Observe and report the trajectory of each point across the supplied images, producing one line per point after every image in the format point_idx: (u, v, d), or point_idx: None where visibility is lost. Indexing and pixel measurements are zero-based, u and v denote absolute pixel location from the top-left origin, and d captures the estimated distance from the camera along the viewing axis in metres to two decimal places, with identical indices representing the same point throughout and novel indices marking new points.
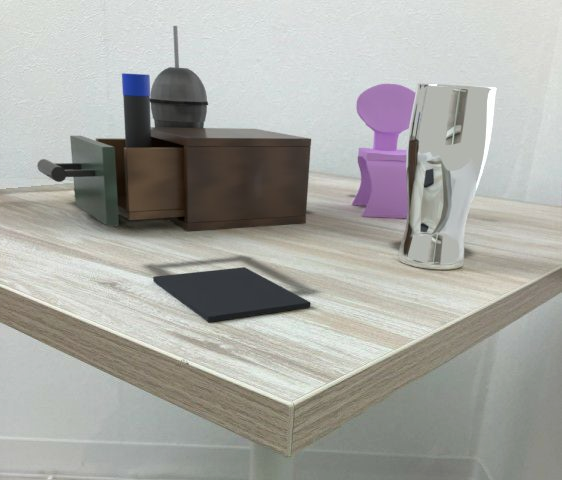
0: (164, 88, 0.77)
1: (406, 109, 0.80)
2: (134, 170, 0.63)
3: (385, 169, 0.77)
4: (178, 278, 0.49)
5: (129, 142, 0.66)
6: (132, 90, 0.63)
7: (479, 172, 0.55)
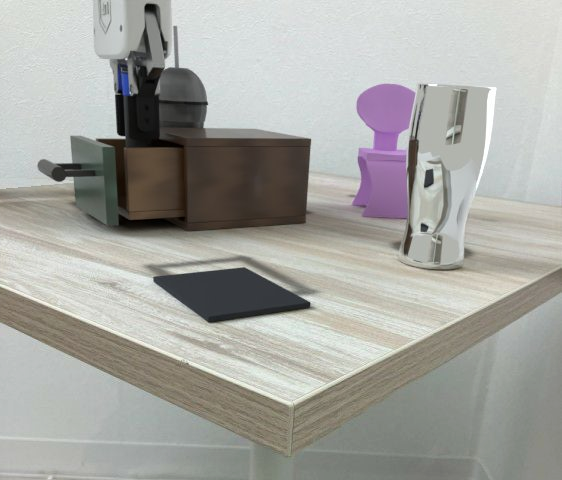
0: (164, 88, 0.77)
1: (406, 109, 0.80)
2: (134, 170, 0.63)
3: (385, 169, 0.77)
4: (178, 278, 0.49)
5: (129, 142, 0.66)
6: None
7: (479, 172, 0.55)
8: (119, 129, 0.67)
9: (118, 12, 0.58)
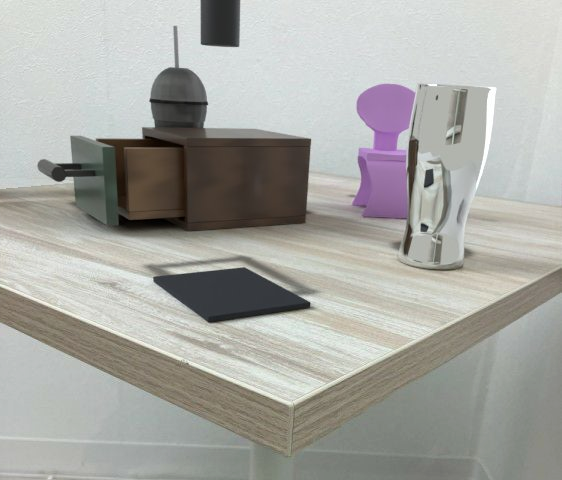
0: (164, 88, 0.77)
1: (406, 109, 0.80)
2: (134, 170, 0.63)
3: (385, 169, 0.77)
4: (178, 278, 0.49)
5: None
6: None
7: (479, 172, 0.55)
8: None
9: None
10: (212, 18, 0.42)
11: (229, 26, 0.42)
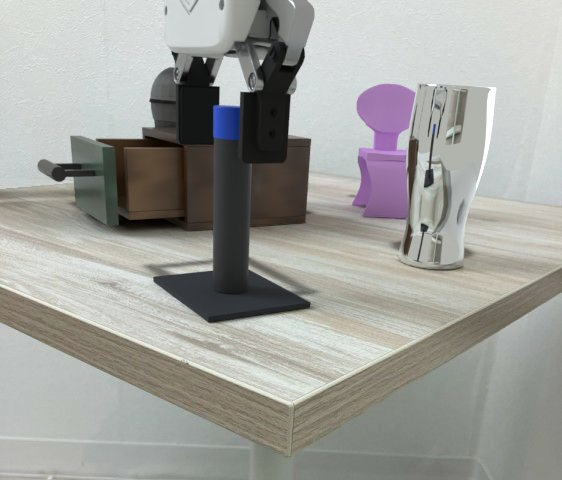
0: (164, 88, 0.77)
1: (406, 109, 0.80)
2: (134, 170, 0.63)
3: (385, 169, 0.77)
4: (178, 278, 0.49)
5: (220, 206, 0.44)
6: (230, 131, 0.42)
7: (479, 172, 0.55)
8: (180, 134, 0.47)
9: None
10: (223, 273, 0.46)
11: (239, 279, 0.46)
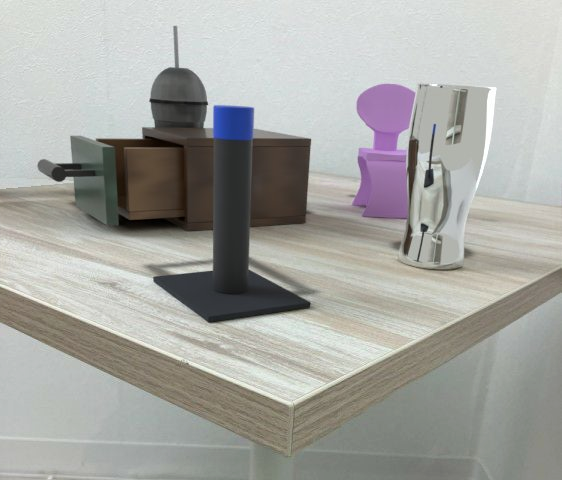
0: (164, 88, 0.77)
1: (406, 109, 0.80)
2: (134, 170, 0.63)
3: (385, 169, 0.77)
4: (178, 278, 0.49)
5: (220, 206, 0.44)
6: (230, 131, 0.42)
7: (479, 172, 0.55)
8: None
9: None
10: (223, 273, 0.46)
11: (239, 279, 0.46)
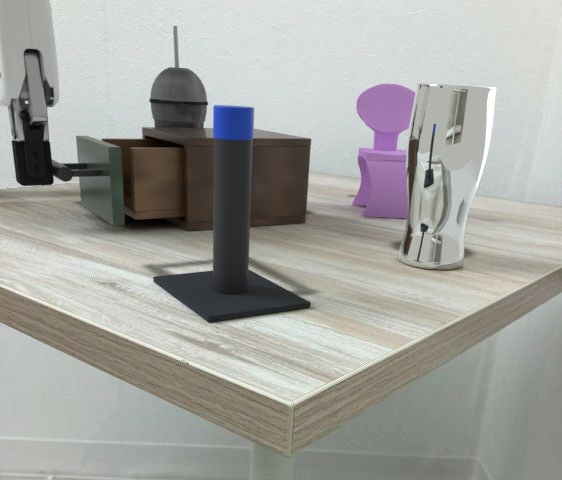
0: (164, 88, 0.77)
1: (406, 109, 0.80)
2: (140, 170, 0.63)
3: (385, 169, 0.77)
4: (178, 278, 0.49)
5: (220, 206, 0.44)
6: (230, 131, 0.42)
7: (479, 172, 0.55)
8: None
9: None
10: (223, 273, 0.46)
11: (239, 279, 0.46)
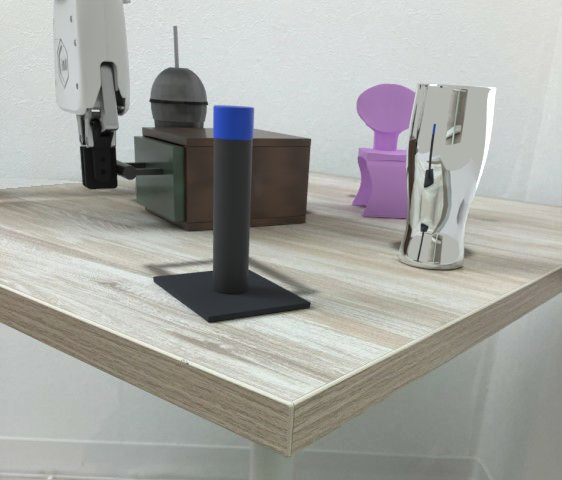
0: (164, 88, 0.77)
1: (406, 109, 0.80)
2: None
3: (385, 169, 0.77)
4: (178, 278, 0.49)
5: (220, 206, 0.44)
6: (230, 131, 0.42)
7: (479, 172, 0.55)
8: (85, 180, 0.66)
9: (74, 70, 0.58)
10: (223, 273, 0.46)
11: (239, 279, 0.46)
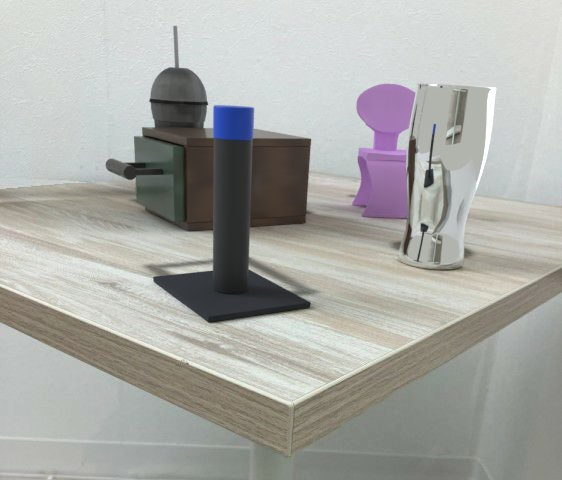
0: (164, 88, 0.77)
1: (406, 109, 0.80)
2: None
3: (385, 169, 0.77)
4: (178, 278, 0.49)
5: (220, 206, 0.44)
6: (230, 131, 0.42)
7: (479, 172, 0.55)
8: None
9: None
10: (223, 273, 0.46)
11: (239, 279, 0.46)
